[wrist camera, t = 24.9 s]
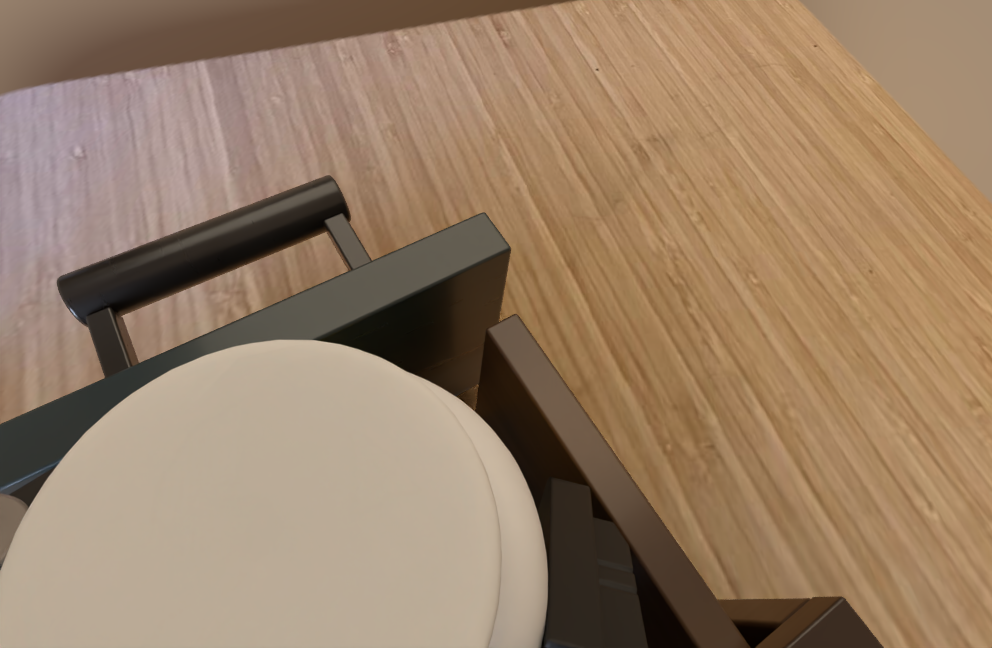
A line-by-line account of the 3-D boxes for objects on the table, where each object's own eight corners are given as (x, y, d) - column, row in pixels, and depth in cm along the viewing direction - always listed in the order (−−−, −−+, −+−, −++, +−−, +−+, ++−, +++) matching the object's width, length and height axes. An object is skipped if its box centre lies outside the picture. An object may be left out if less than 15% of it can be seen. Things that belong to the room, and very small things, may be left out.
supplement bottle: (511, 712, 12) (684, 992, 3) (257, 750, 12) (-380, 1231, 3) (485, 467, 15) (545, 251, 6) (275, 487, 14) (-21, 279, 5)
